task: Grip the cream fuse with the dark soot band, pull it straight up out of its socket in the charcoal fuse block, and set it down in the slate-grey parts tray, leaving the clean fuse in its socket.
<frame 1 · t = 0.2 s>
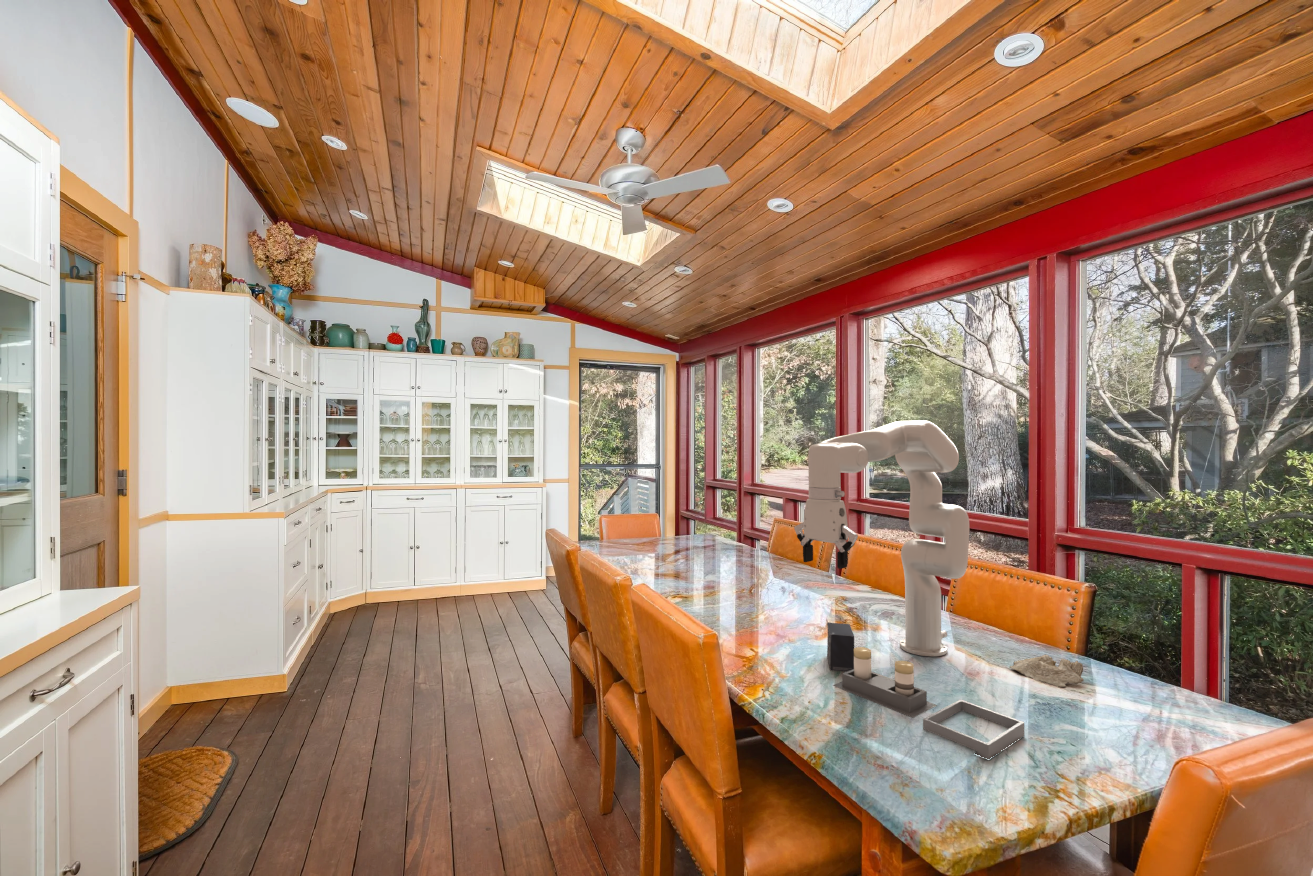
hand: (824, 564, 146), 31 cm above the table, tool pointing down, fingers open, 9 cm apart
blown fuse: (904, 703, 136), point 1 cm above the table, touching fuse block
fuse block: (882, 699, 141), on the table
parts tray: (973, 735, 124), on the table
coral: (1044, 674, 155), on the table
small box: (840, 668, 160), on the table
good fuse: (862, 686, 145), point 1 cm above the table, touching fuse block
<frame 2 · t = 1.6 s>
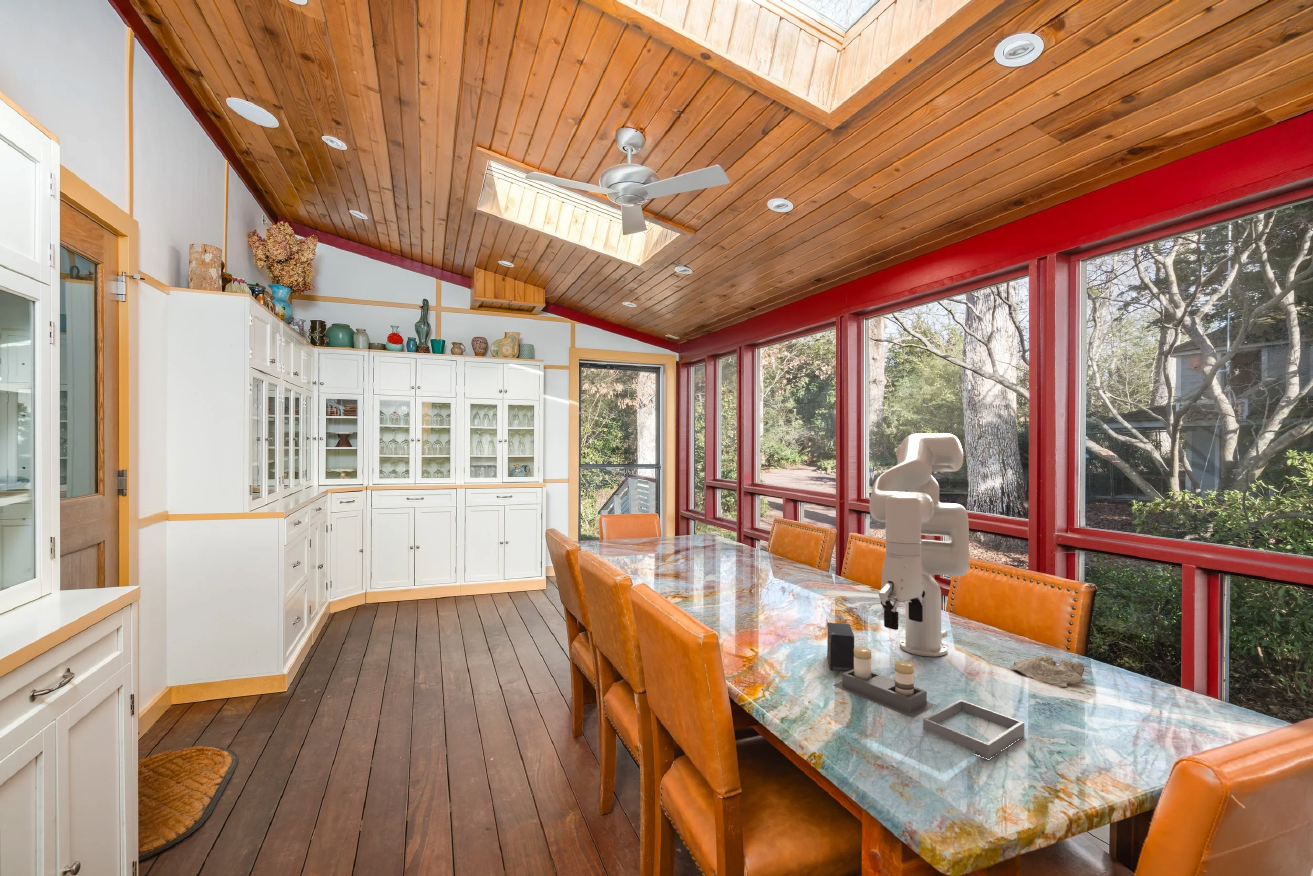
hand: (903, 624, 136), 19 cm above the table, tool pointing down, fingers open, 9 cm apart
nothing on the table moved.
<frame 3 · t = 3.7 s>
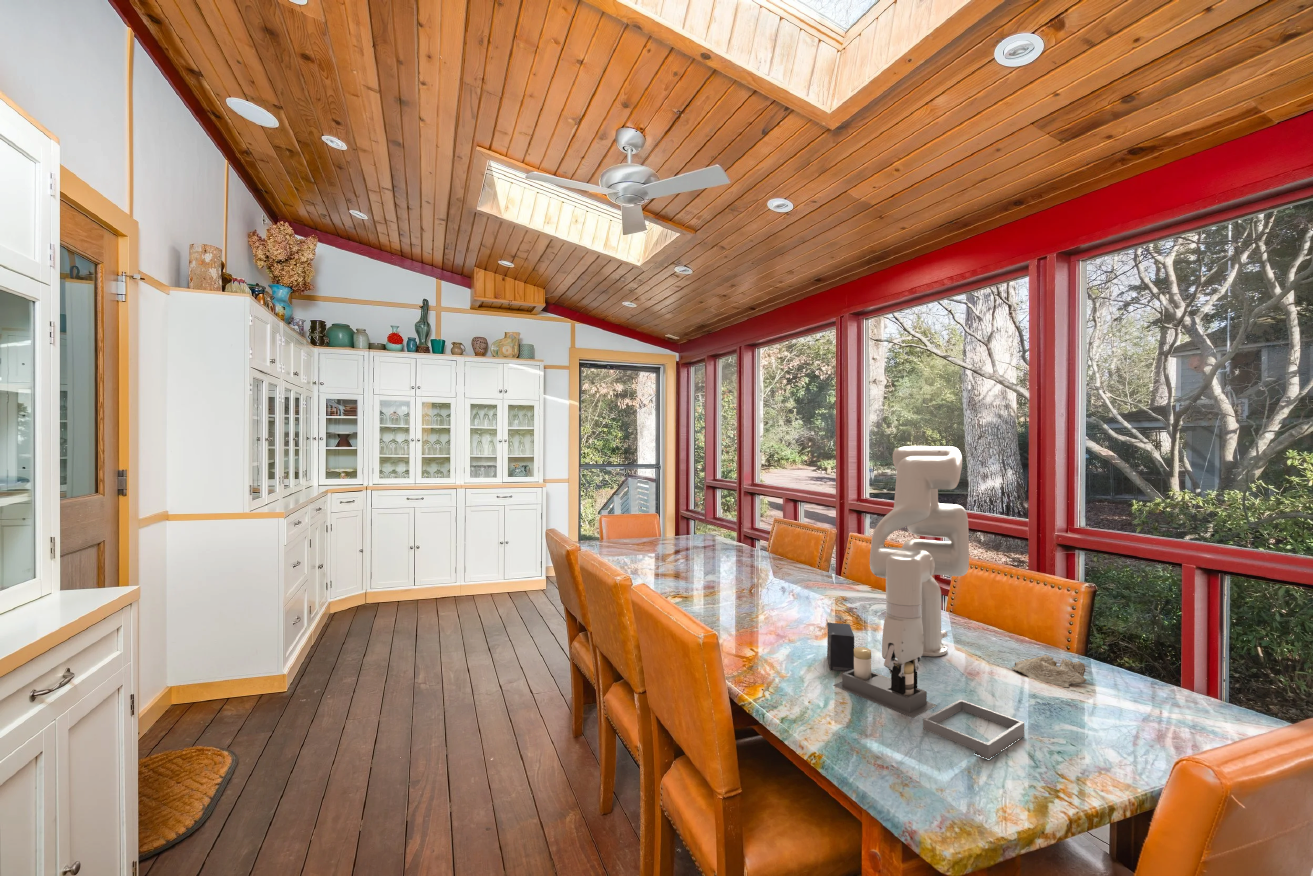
hand: (904, 688, 136), 4 cm above the table, tool pointing down, fingers closed on blown fuse, 4 cm apart
blown fuse: (904, 703, 136), point 1 cm above the table, touching fuse block, gripper
everything else where it was.
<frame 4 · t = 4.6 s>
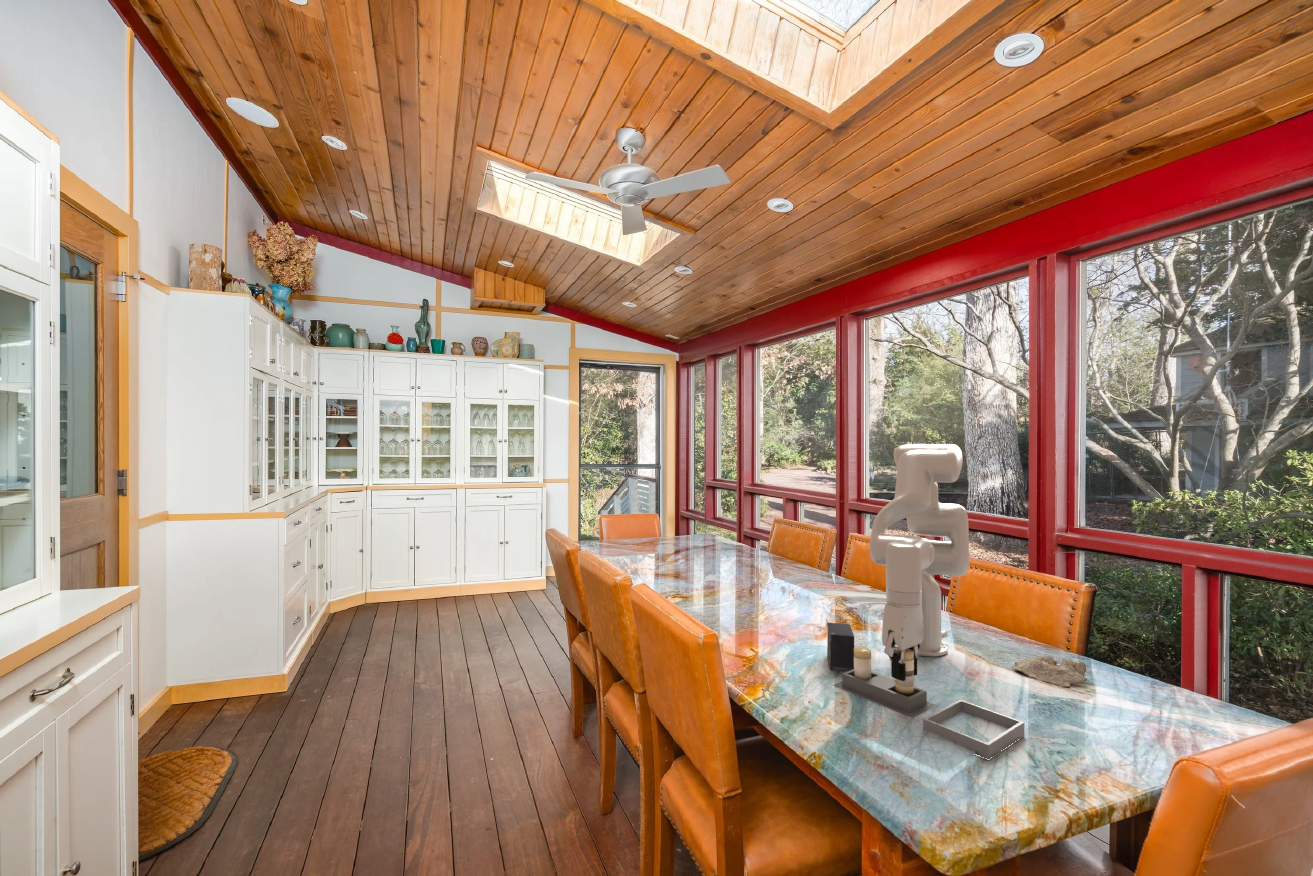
hand: (904, 675, 137), 7 cm above the table, tool pointing down, fingers closed on blown fuse, 4 cm apart
blown fuse: (904, 689, 137), point 4 cm above the table, touching gripper
everything else where it was.
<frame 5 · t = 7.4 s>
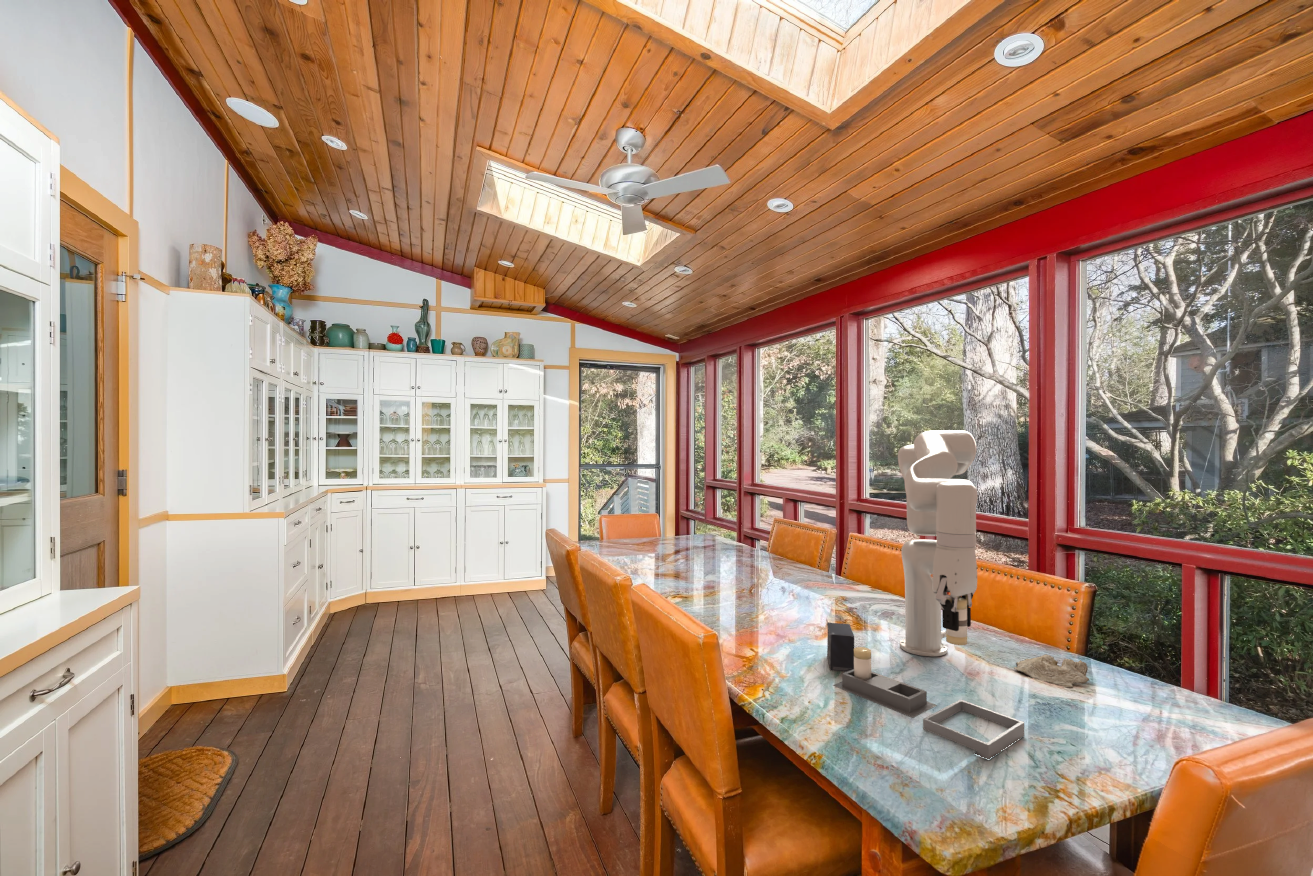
hand: (956, 626, 126), 22 cm above the table, tool pointing down, fingers closed on blown fuse, 4 cm apart
blown fuse: (956, 641, 126), point 18 cm above the table, touching gripper
everything else where it was.
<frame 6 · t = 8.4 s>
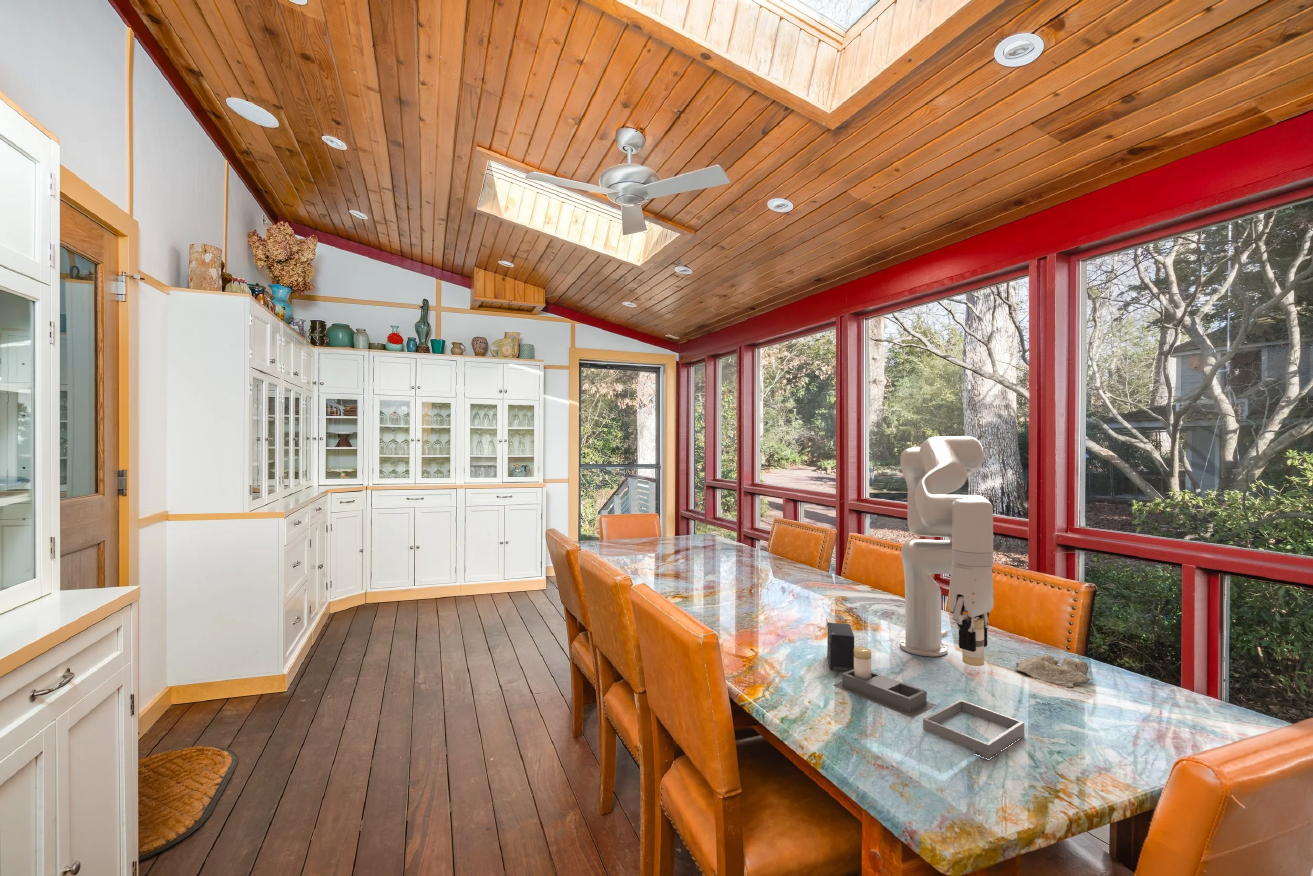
hand: (973, 646, 123), 18 cm above the table, tool pointing down, fingers closed on blown fuse, 4 cm apart
blown fuse: (973, 662, 123), point 15 cm above the table, touching gripper
everything else where it was.
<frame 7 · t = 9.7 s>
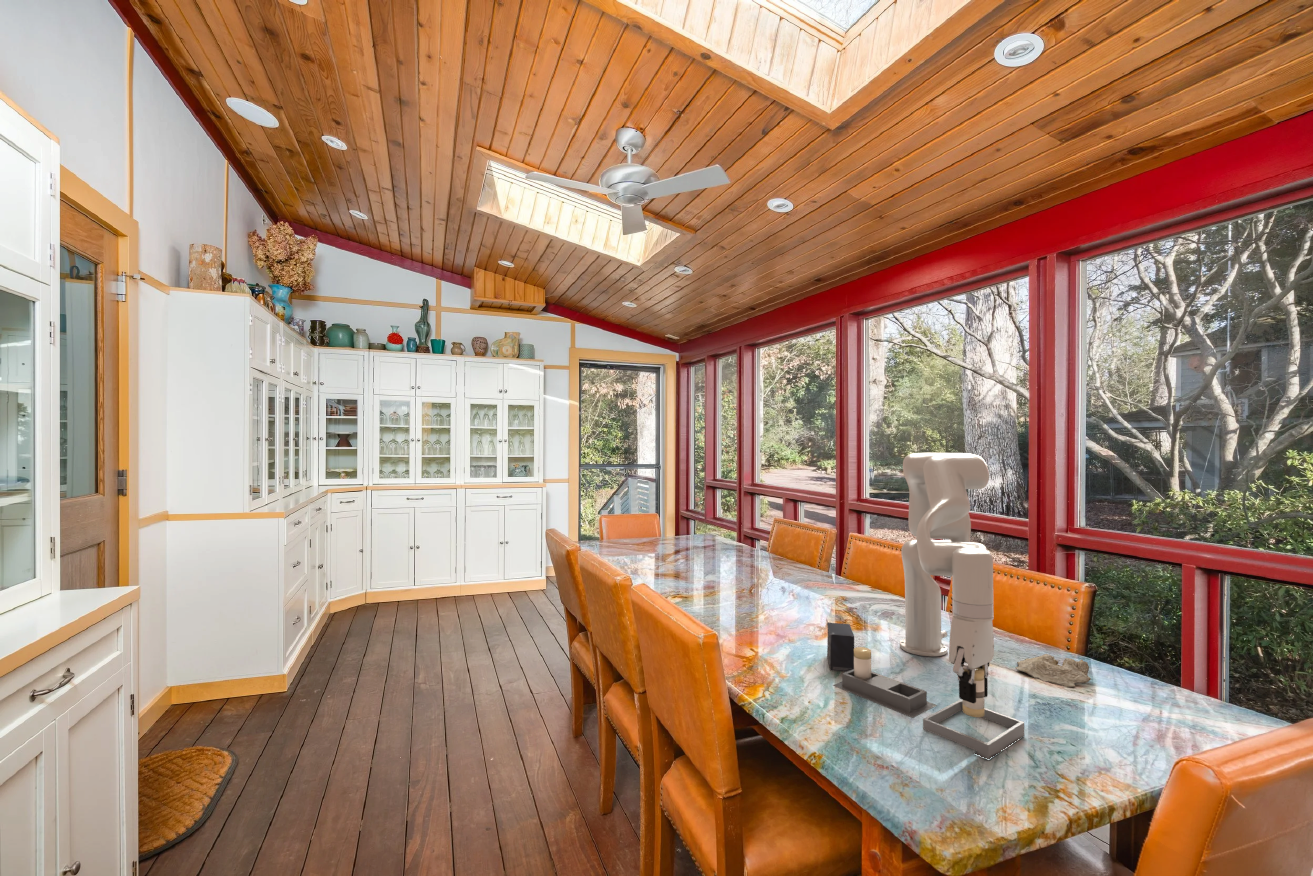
hand: (973, 697, 123), 8 cm above the table, tool pointing down, fingers closed on blown fuse, 4 cm apart
blown fuse: (973, 712, 123), point 5 cm above the table, touching gripper
when the fingers open (6 cm above the table, at t = 10.4 s): blown fuse drops 2 cm, resting on parts tray.
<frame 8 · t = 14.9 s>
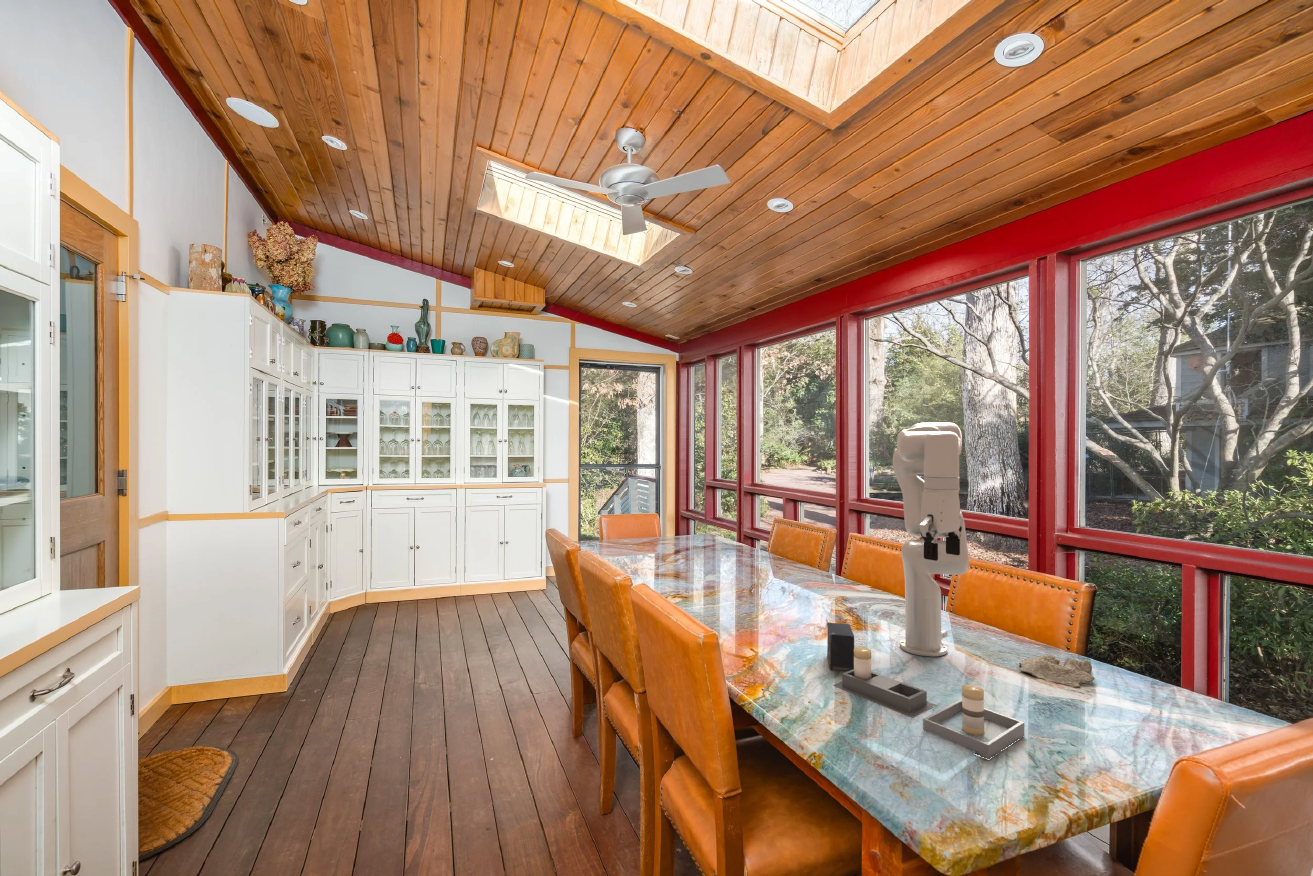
hand: (942, 557, 141), 33 cm above the table, tool pointing down, fingers open, 9 cm apart
blown fuse: (973, 732, 124), point 1 cm above the table, touching parts tray
at the end: blown fuse inside the target area on the parts tray (0.0 cm from its centre), point 0.6 cm above the parts tray's base; the gripper is holding nothing; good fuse moved 0.0 cm from its start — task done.
